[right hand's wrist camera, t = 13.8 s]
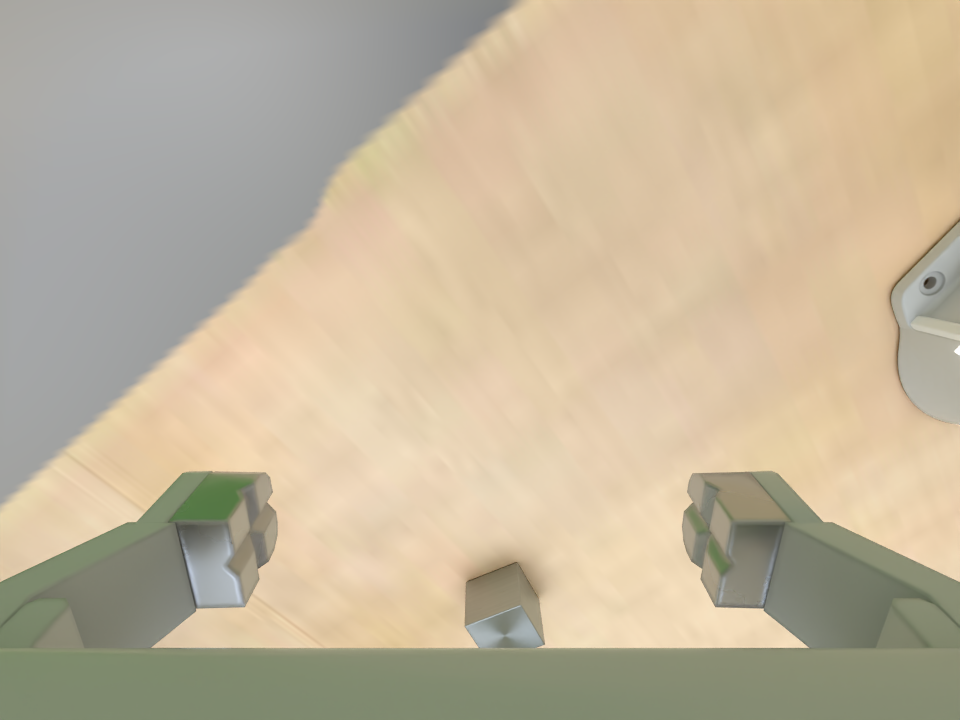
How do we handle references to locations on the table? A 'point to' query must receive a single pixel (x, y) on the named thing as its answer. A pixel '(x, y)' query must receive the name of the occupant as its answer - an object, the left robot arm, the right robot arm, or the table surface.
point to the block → (503, 610)
